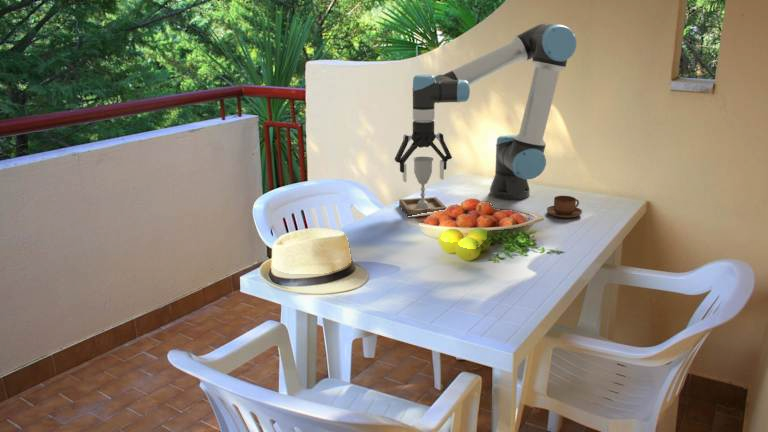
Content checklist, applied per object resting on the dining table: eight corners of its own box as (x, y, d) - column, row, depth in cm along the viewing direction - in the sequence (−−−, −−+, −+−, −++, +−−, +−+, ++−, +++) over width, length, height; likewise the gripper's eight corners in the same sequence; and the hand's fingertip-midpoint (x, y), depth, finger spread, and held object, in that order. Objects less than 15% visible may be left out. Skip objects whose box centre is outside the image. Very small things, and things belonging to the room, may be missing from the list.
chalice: (433, 205, 251) (433, 156, 246) (432, 210, 245) (433, 161, 239) (413, 204, 252) (413, 156, 247) (412, 210, 246) (412, 160, 240)
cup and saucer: (558, 208, 251) (559, 191, 249) (588, 215, 242) (589, 198, 241) (539, 215, 243) (540, 198, 241) (569, 223, 234) (571, 205, 233)
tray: (435, 203, 257) (436, 197, 256) (446, 214, 244) (447, 207, 243) (399, 206, 254) (399, 199, 253) (408, 217, 241) (408, 210, 240)
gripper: (454, 116, 245) (453, 175, 251) (385, 120, 240) (386, 179, 246) (461, 120, 238) (460, 180, 244) (390, 124, 233) (391, 184, 239)
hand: (423, 179), depth 245 cm, fingers open, 13 cm apart
